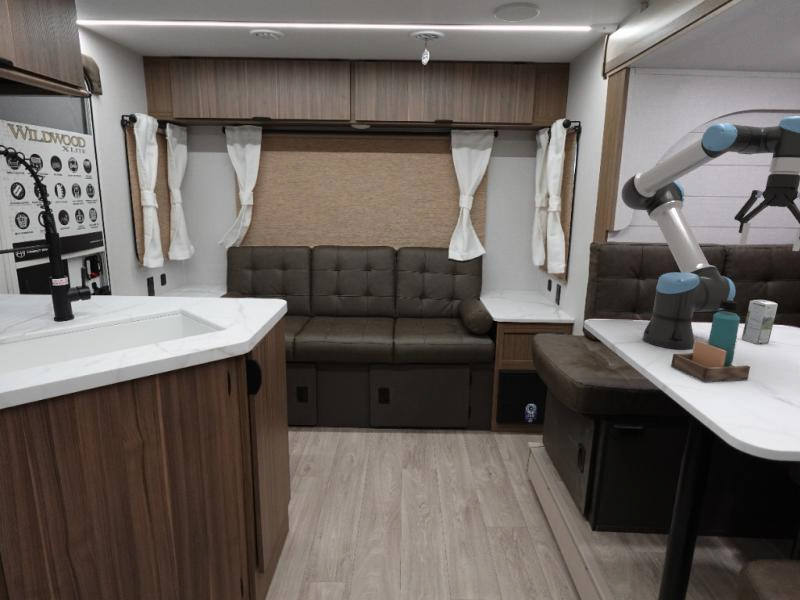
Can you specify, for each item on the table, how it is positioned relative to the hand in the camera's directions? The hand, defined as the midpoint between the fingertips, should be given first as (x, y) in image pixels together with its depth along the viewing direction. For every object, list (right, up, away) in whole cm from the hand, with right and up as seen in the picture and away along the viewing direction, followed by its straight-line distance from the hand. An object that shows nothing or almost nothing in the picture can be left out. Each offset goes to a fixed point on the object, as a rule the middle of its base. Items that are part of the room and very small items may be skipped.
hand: (768, 247), depth 145 cm
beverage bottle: (-20, -35, -7) cm, 41 cm away
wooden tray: (-23, -36, -8) cm, 43 cm away
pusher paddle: (-24, -35, -8) cm, 43 cm away
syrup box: (+14, -30, +25) cm, 42 cm away
